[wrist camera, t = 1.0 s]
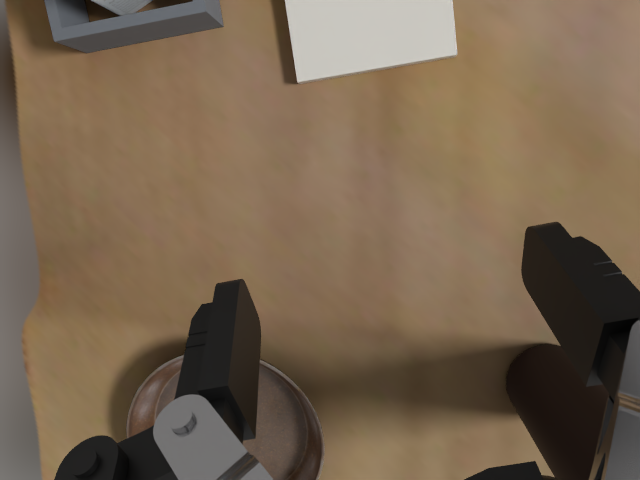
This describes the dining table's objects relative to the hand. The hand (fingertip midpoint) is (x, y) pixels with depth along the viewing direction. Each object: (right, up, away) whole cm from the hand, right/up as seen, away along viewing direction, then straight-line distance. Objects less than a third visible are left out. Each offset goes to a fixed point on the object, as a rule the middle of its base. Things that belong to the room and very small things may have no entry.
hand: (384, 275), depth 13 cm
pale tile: (+2, +20, +21) cm, 29 cm away
